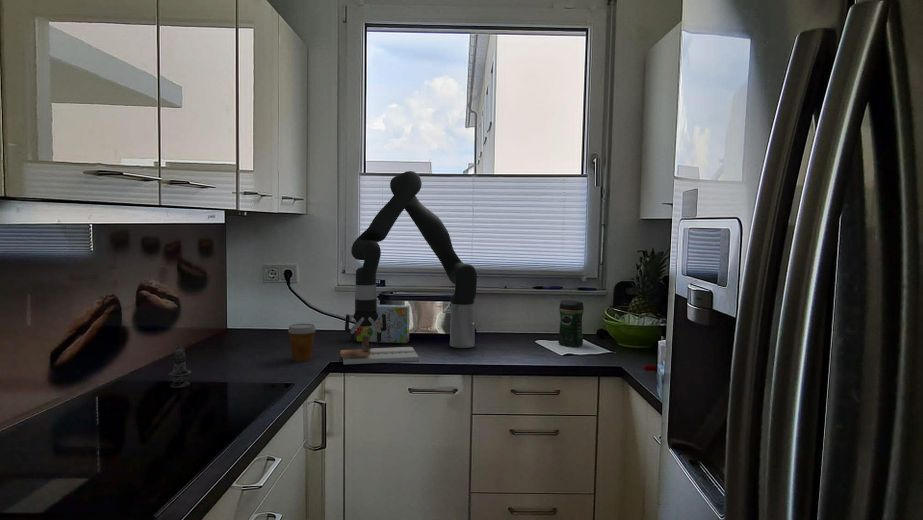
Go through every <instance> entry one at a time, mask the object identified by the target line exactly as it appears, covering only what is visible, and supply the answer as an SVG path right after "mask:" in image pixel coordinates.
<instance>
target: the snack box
mask: <svg viewBox="0 0 923 520" xmlns="http://www.w3.org/2000/svg"><path fill="white" fill-rule="evenodd" d="M382 313H385V315H386V327H387V330H386V331H382V333H381V341H379V343H387V344H389V343H392V344H407V343H408V342H409V341H410V305H397V304H396V305H394V304H377V314H382ZM375 322H376V324H377V325H378V326H379V328H381V327H382V320H380V318H379V317H378V318H377V320H376V321H375ZM366 334H368V336H369V343H377V330H376V329H375V327H374V326H373V325H372V326H371V327H368V326H365V327H361V326H359V327H358V328H357V329H356V342H361V343H362V335H366Z"/></svg>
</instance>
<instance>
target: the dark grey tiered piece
mask: <svg viewBox="0 0 923 520" xmlns="http://www.w3.org/2000/svg"><path fill="white" fill-rule="evenodd" d="M172 362H173V368H172V369H173V370H172V371H170V372H169V373H168V376H169V379H170V381H172V382H171V384H169V387H170V388H172V389H173V388H185V387H187V386H189V385H191V382H189V381H187V380H188V379H189V378H190V376H191V373H192V370H189V369H187V367H186V362H187V358H186V349H185V348H184V347H183V346H181V343H180V344H178V347H175V348H174V350H173V359H172Z"/></svg>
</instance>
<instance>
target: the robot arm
mask: <svg viewBox="0 0 923 520" xmlns="http://www.w3.org/2000/svg"><path fill="white" fill-rule="evenodd" d="M422 183H423V182H422V178H421V176H420V175H419V174H418V173H417V172H416V171H414V170H413V171H412V170H407V171H405V172H402V173H399V174H397V175H395V176H394V177H392V178H391V179H390V182H389V187H390V191H391V193H392V197H391V198H390V200H388V202H387V203H386V204H385V205H384V206H383V207H382V208H381V209H380V210H379V211H378V212H377V214H376V215H375V216H374V218H373V219H372V221H371V222H370V224H369V226H368V228H366V229H364V231H363V232H362V233H361V234H360V235H359V236H358V237H357V238H356V239H355V240H354V241H353V243H352V246H351V251H350V252H351V255H352V257H353V258H354V260H358V261H363V265H362V267H358V268H357V269H356V270H355V289H354V313H353V314H349V313H346V314H345V322H344V332H346V333H349V335H350V336H349V337H350V338H349V341H350V343H351V344H352V345H355V343H356V342H355V338H356V336H355V332H357V328H358V327H359V326H361V327H365V326H368V327H371V326H372V325H373V326H374V327H375V329H376V330H377V342H376V344H380V342H379V341H381V333H382V331H386V330H387V327H386V315H385V313H382V314H377V305H378V303H377V301H378V292H377V291H378V290H377V271H378V267H379V263H380V261H381V260H380V259H381V255H382V254H381V253H382V252H381V246H380V244H379V242H383V241H385V239H386V238H387V236H388V234H389V233H390V231H391V230H392V228H393V226H394V224H395V223H396V222H397V220H398V218H399V217H400V216H401V214H402V213H403V211H404V210H405V211H406V213H407V214H408V215H409V217H410V218H411V220H412V221H413V223H414V224H415V226H416V228H417V229H418V231H419V233H420V234H421V235H422V237H423V239H424V240H425V242H426V243H427V245H428V246H429V248H430V249H431V251H432V252H433V253H434V255H435V256H436V257H437V259H438V260H439V262H440V264H441V266H442V267H443V270H444V271H445V273H446V276H447V277H448V279H449V281H450V282H451V283H452V284H453V285H455V286H454V294H453V295H451V297H450V322H449V323H450V332H449V333H450V334H449V336H450V338H449V346H450V347H452V348H455V349H456V348H457V349H468V348H474V347H475V343H476V342H475V341H476V339H475V337H476V336H475V334H476V333H475V331H476V323H475V322H474V319H475V318H474V316H475V315H474V314H475V313H474V312H475V311H474V309H475V305H474V304H475V298H476V295H477V285H478V284H477V282H478V276H477V275H478V273H477V271H476V269H475V267H474V266H473V265H472V264H468V263H464V262H463V261H462V260H461V259H460V257H459V256H458V254H457V253H456V252H455V250H454V247H453V244H452V239H451V237H450V234H449V231H448V230H447V227H446V226H445V224H444V223H443V221H442V220H441V218H440V217H439V216H437V215H436V214H435V213H434V212H433V211H431V210H430V209H429V208H427V207H426V206H424V204H422V203H421V202H420V200H419V199H418V197H417V194H418V193H419V192H420V190H421V189H422V186H423V185H422ZM378 317H379V318H380V320H382V327H381V328H379V326H378V325H377V324H376V322H375V321H376V320H377V318H378ZM352 319H353V320H355V323H354V325H352V327H351V328H350V322H351V321H352Z"/></svg>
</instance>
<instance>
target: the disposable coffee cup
mask: <svg viewBox="0 0 923 520" xmlns="http://www.w3.org/2000/svg"><path fill="white" fill-rule="evenodd" d="M316 330H317V328H316V325H315V324H313V323H294V324H290V325H288V329H287V332H288V334H289V341H290V349H291V356H292V361H293V362H297V363H300V362H308V361H311V360H312V356H313V355H312V354H313V349H314V342H315V341H314V339H315V332H316Z"/></svg>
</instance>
